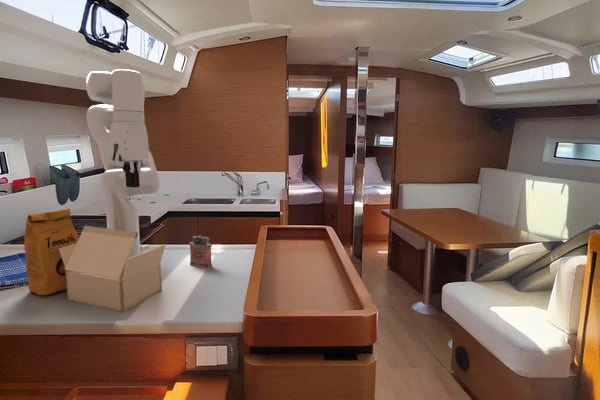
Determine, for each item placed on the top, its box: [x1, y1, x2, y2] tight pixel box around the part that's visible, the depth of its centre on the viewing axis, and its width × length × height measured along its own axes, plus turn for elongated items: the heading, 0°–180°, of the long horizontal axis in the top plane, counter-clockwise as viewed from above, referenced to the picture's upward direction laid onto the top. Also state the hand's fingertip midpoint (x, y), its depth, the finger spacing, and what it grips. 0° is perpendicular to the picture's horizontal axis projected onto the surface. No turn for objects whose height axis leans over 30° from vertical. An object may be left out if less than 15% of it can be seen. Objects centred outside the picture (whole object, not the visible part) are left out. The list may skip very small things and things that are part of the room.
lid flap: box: [65, 225, 138, 280], centre depth 96 cm, size 12×17×1 cm
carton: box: [59, 243, 166, 313], centre depth 100 cm, size 14×22×14 cm, turn 71°
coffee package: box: [23, 208, 79, 296], centre depth 104 cm, size 10×12×22 cm
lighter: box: [188, 235, 213, 268], centre depth 126 cm, size 8×3×10 cm, turn 68°
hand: (132, 186), depth 104 cm, fingers closed
